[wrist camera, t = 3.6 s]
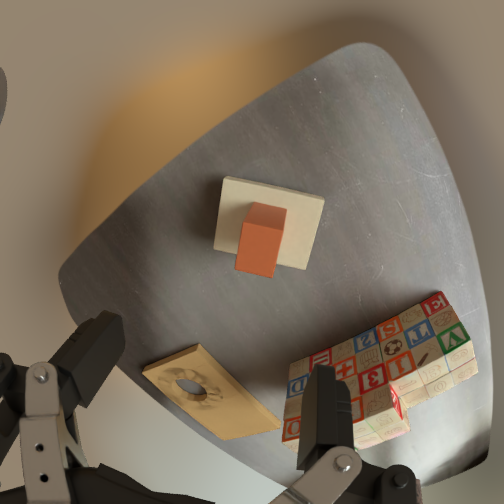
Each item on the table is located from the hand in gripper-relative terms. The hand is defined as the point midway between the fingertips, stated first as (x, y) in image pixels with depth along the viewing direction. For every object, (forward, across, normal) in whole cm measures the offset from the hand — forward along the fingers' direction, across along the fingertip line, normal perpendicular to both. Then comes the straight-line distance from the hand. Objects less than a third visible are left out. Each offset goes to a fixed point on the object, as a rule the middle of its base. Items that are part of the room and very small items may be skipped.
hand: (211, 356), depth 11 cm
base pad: (+20, +3, +31) cm, 37 cm away
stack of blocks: (+20, -16, +14) cm, 29 cm away
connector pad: (+20, 0, +1) cm, 20 cm away
